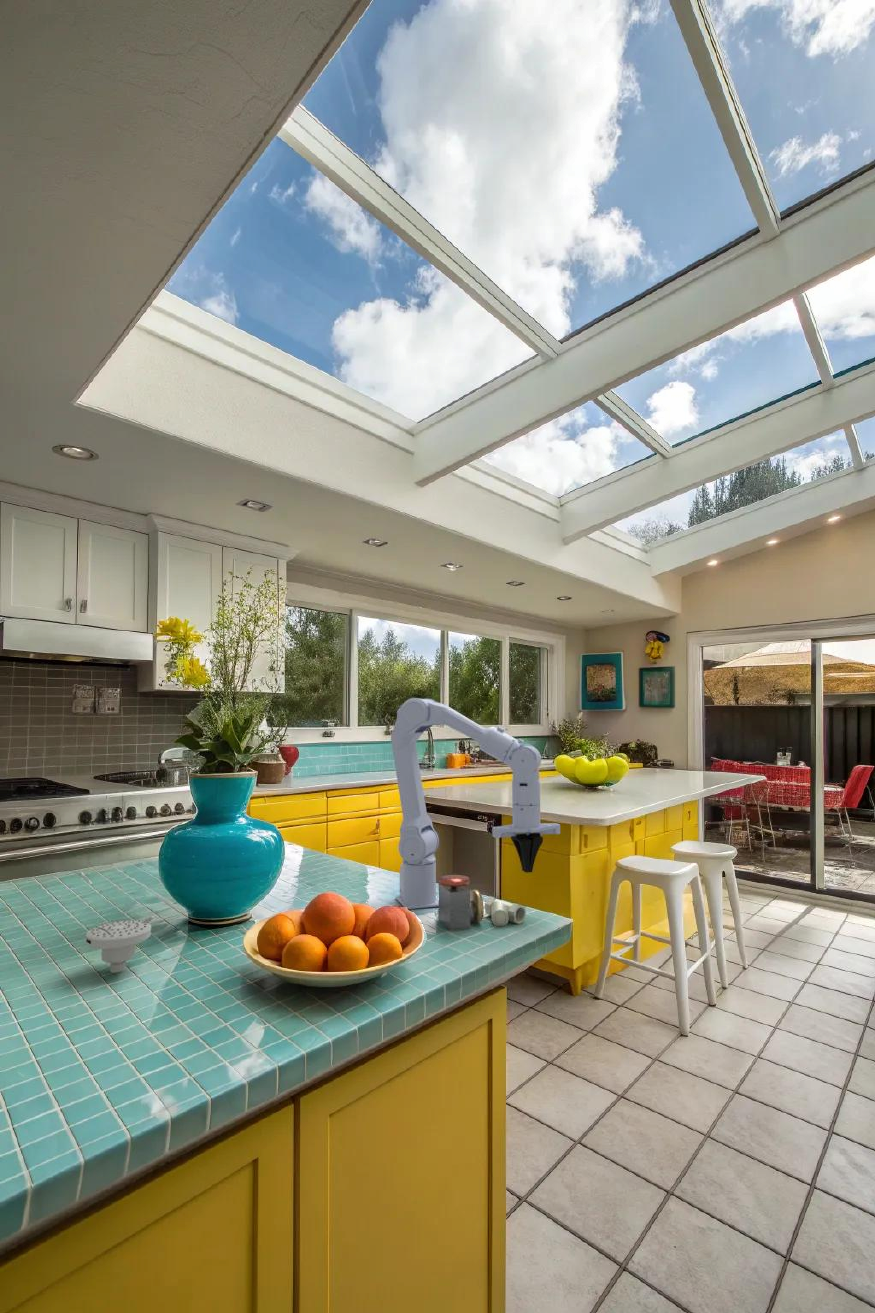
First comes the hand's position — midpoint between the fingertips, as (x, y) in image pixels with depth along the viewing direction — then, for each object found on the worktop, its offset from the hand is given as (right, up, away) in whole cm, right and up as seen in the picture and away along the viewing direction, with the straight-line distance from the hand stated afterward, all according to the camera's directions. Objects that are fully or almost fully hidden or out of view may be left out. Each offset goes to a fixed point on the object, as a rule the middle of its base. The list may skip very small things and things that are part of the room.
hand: (527, 871), depth 135 cm
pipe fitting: (-6, -9, -5) cm, 12 cm away
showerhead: (-69, -6, -30) cm, 76 cm away
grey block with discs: (-14, -8, -7) cm, 17 cm away
